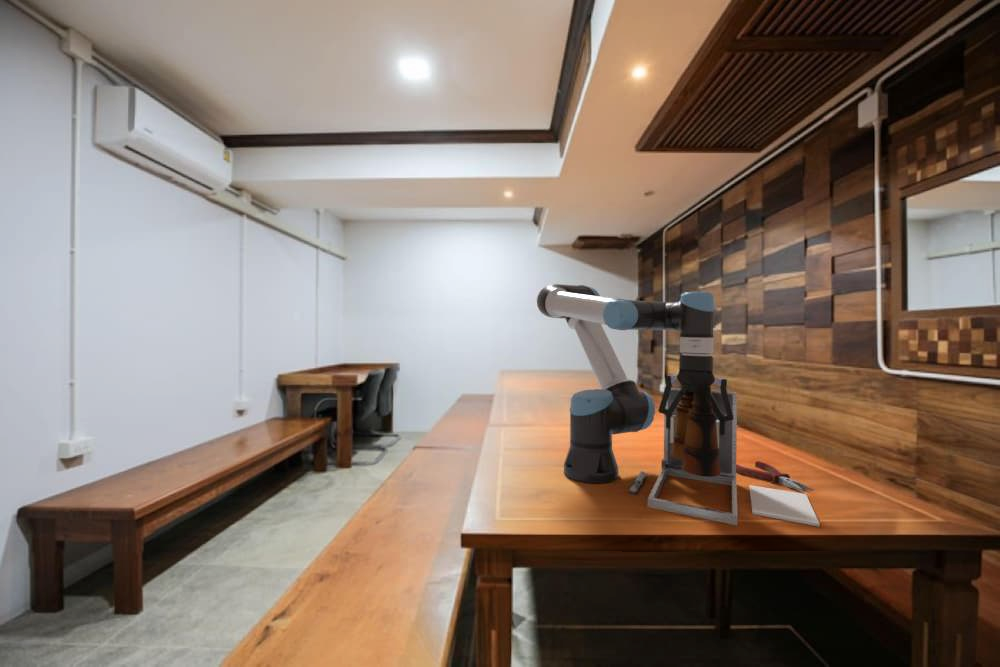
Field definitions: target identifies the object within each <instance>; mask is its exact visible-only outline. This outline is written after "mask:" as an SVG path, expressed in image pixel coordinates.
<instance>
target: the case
mask: <svg viewBox="0 0 1000 667" xmlns="http://www.w3.org/2000/svg"><path fill="white" fill-rule="evenodd" d="M681 388H682V387H680V388H679V387H678V388H677V387H671V391H670V394H669V397H668V401H667V404H666V407H665V409H669V408H670V406H671V404H672V403H673V401H674V400H675V398H676V396H677V395H678V393H679V392H680V390H681ZM664 390H665V388H664ZM711 393H712V395H713V397H714V399H715V400H716V402H717V404H718V406H719V408H720V409H721V411H722V413H723V415H727V413H726V409H725V405H724V402H723V398H722V394H721V390H711ZM727 393H728V397H729V401H730V404H731V408H732V412H733V416H734V419H733V420H730V421H726V422H725V434H724V435H719V455H718V456H719V465H720V475H718V476H714V477H705V476H698V475H694V474H690V473H688V472H686V471H684V470H683V469H682V462H683V461H681V460H678V459H675V458H673V457H672V456H671V449H672V443H670V429H667V428H666V415H665V414H663V416H664V417H663V419H664V420H663V421H664V422H663V458H662V459H661V471H660V472H659V474H658V477H657V479H656V481H655V483H654V484H653V487H652V489H651V491H650V493H649V495H648V497H647V508H649V507H650V509H655V510H660V511H664V512H668V513H669V512H670V513H674V514H680V515H684V516H690V517H693V518H694V517H695V518H697V519H698V518H699V519H704V520H709V521H714V522H717V523H718V522H719V523H722V524H727V525H734V526H738V491H737V490H738V489H737V473H736V464H737V445H738V444H737V434H738V432H737V430H738V427H737V425H738V424H737V423H738V392H736V391H727ZM712 411H713V412H714V410H713V408H712ZM672 415H675V416H676V408H675V410H674V411H673V413H672ZM715 415H716V414H715ZM716 416H717V415H716ZM717 420H719V419H718V417H717ZM667 476H670V477H677V478H683V479H690V480H695V481H701V482H706V483H714V484H720V485H726V486H731V512H728V511H725V510H724V511H723V510H722V511H721V510H717V509H714V508H713V509H711V508H708V507H702V506H697V505H691V504H687V503H682V502H676V501H673V500H671V501H670V500H667V499H666V500H665V499H660V498H658V496H659V494H660V491H661V489H662V486H663V484H664V482H665V481H666V478H667Z"/></svg>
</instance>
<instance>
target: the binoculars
mask: <svg viewBox="0 0 1000 667" xmlns="http://www.w3.org/2000/svg"><path fill="white" fill-rule="evenodd" d="M682 387H683V386H682V385H681V388H682ZM711 391H712V388H711V386H710V387H698V386H697V387H696V388H695V390H694V392H688V391H686V392H685V394H684V395H683V397H682V398H681V400H680V402H679V403H678V405H677V406H676V416H675V441H674V443H672V449H671V456H672V457H673V458H675V459H678V460H681V461H683V462H682V469H683V470H684V471H686V472H688V473H690V474H694V475H698V476H705V477H714V476H718V475H720V465H719V456H718V455H719V448H718V440H717V427H716V420H717V416H716V415H715V412H713V411H712V403H711V402H710V400H711Z"/></svg>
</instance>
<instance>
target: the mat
mask: <svg viewBox="0 0 1000 667" xmlns="http://www.w3.org/2000/svg"><path fill="white" fill-rule="evenodd" d="M748 486H749V487H748V488H749V496H750V503H751V504H750V505H751V514H752V515H757V516H762V517H766V518H772V519H777V520H781V521H789V522H793V523H798V524H803V525H809V526H815V527H821V526H820V525H821V524H820V521H819V520H818V517H817V515H816V513H815V510H814V508H813V506H812V504H811V502H810V500H809V498H808V496H807V495H808V494H806V493H803V492H802V493H801V492H796V491H789V490H783V489H775V488H770V487H763V486H759V485H758V486H757V485H752V484H751V485H750V484H749V485H748Z"/></svg>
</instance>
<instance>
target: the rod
mask: <svg viewBox="0 0 1000 667" xmlns="http://www.w3.org/2000/svg"><path fill="white" fill-rule="evenodd" d="M646 477H647V473H646V472H645V471H640V472H639V474H638V476H637V477H636V478H635V479H634V481H633V483H632V484H631V487H629V489H628V493H629V494H630V495H633V494H634V495H633V496H636V495H637V493H638V491H639V490H640V487H641V486H642V485H643V482H644V481H645V479H646Z"/></svg>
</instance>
